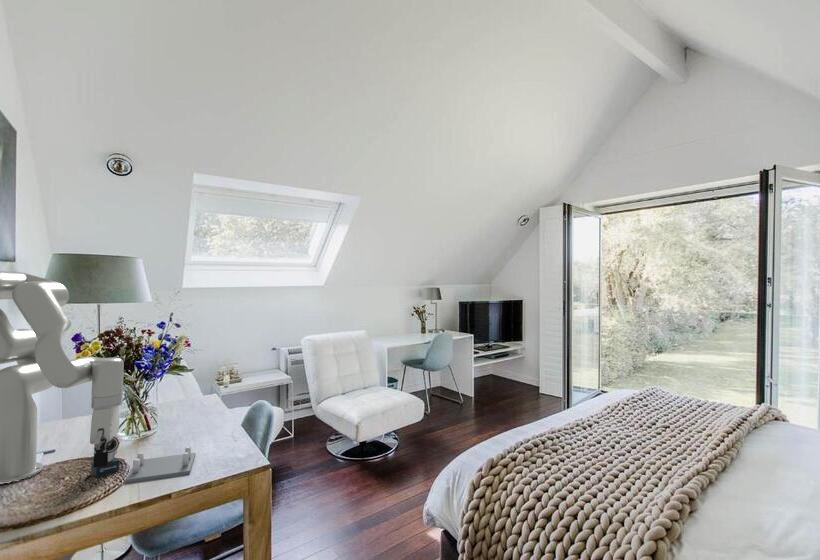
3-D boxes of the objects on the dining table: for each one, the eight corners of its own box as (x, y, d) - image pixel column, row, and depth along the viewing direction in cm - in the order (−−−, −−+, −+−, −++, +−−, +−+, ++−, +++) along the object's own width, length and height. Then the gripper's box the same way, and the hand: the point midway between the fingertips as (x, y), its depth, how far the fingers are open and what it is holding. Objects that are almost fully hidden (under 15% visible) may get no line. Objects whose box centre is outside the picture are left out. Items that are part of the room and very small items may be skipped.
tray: (124, 483, 114) (125, 467, 114) (137, 463, 127) (137, 448, 127) (189, 474, 120) (190, 458, 120) (195, 455, 133) (195, 441, 133)
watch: (98, 479, 116) (99, 440, 116) (88, 471, 121) (90, 434, 121) (121, 472, 120) (122, 434, 121) (111, 465, 125) (112, 429, 125)
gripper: (101, 394, 128) (100, 451, 127) (80, 410, 111) (78, 475, 111) (130, 392, 130) (128, 447, 130) (113, 407, 114) (111, 470, 114)
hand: (105, 460), depth 120 cm, fingers closed on watch, 8 cm apart
